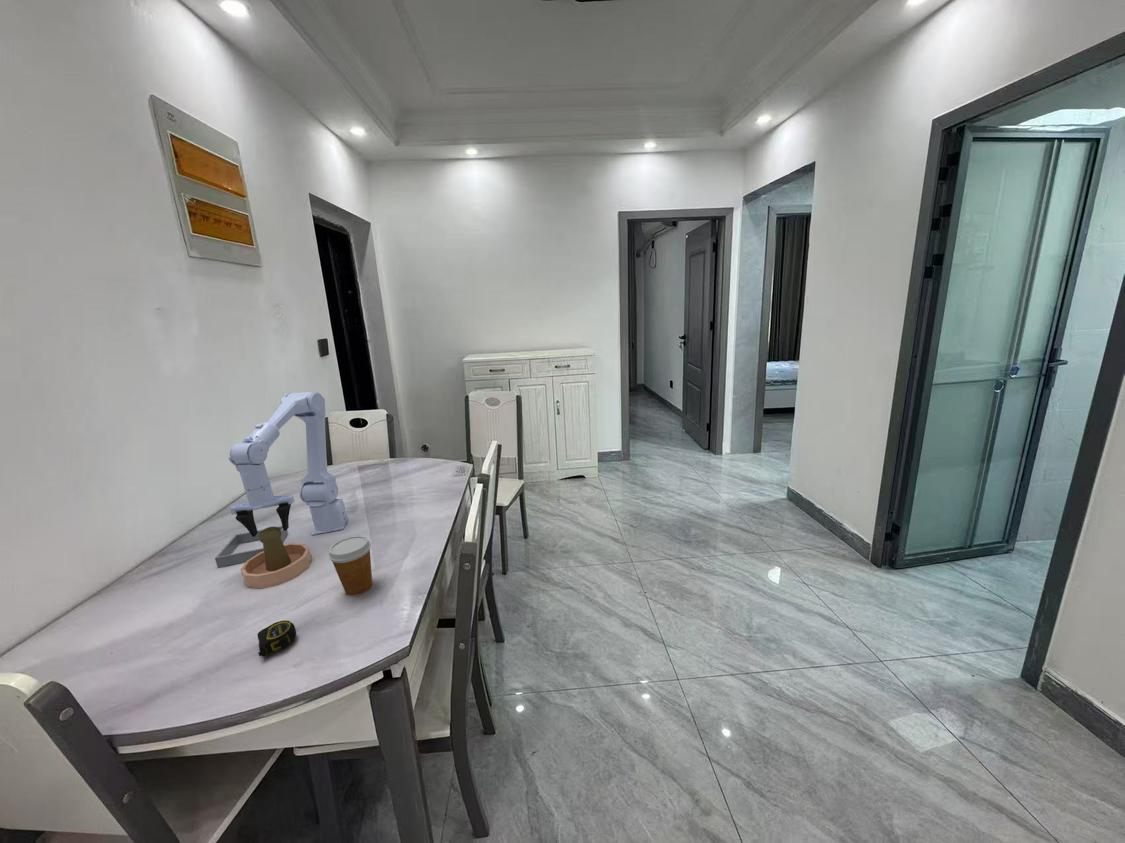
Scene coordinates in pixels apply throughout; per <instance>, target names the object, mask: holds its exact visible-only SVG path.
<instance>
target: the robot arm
mask: <svg viewBox="0 0 1125 843" xmlns="http://www.w3.org/2000/svg"><path fill="white" fill-rule="evenodd" d="M293 417H296V418H298V419H299V420H302V422H304V424H305V436H306V437H305V438H306V439H305V440H306V460H307V462H306V463H307V464H306V465H307V474H305V475H304V476H303V477H302V478H301V479H300V488H299V498H300V500H301V501H302V502H303V503H305V504H306V506H308V507H309V511H310V515H311V518H312V523H313V530H312V532H311V536H315V535H320V534H326V533H330V532H336V531H340V530H344V529H345V527H346V524H347V522H348V519H349V518H348V516H347V512H346V507H345V504H344V500H343V498H337V497H338V495H339V487H338V484H337V480H336V479H337V478H336V477H335V476H334V475H332V473H329V471H328V467H327V466H328V464H327V463H328V462H327V461H328V460H327V441H326V440H327V439H326V436H327V435H326V398H324V396H323V395H322V394H321V393H320V392H319V391H317V390H315V391H306V392H287V393H286V394H285V395H284V396H283V397H282V398H281V399H280V405H279V406H278V408H277V409H276V410H275V411H274V413H273V414H272V415H271V417H270V418H269V419H268V420H267V422H260V423H257V424H256V425H255V426H254V429H253V430H252V431H251V432H250V433H249V434H248V435H247V436H246V437H245V438H244V440H242V442H239V443H236V444H234V445H233V446H232V447H231V448H230V451H229V457H228V460H229V462H230V463H231V464H232V465H233V466H234V467H235V469H236V471H237V472H239V476H240V478H241V483H242V486H243V488H244V489H243V490H244V492H245V495H246V498H247V501H245V502H240V503H237V504H233V505H231V507H230V508H229V510H230V513H231V515H232V516H233V515H236V516H235V520H236V521H238V522H239V523H240V524H241V525H242V526H244V528H246V529H247V531H248V532H250V534H251V535H252V537H255V536H256V535H257V533H258V528H257V524H256V522H255V518H254V511H257V510H262V509H266V508H271V507H277V508H276V509H275V512H276V513H277V515H278V516H279V519H280V522H281V526H282V527H283V530H284V531H286V530H287V531H288V529H289V528H290V526H289V524H290V523H289V519H290V518H289V517H290V512H291V506H292V504H294V502H295V498H294V497H295V496H294V494H290V495H289V494H287V495H274V492H273V489H272V486H271V482H270V478H269V475H268V471H267V467H266V464H265V461H266V460H267V458H268V452H269V451H270V448H271V446H272V445H273V444H274V443H275V442H276V441H277V439H279V437H280V435H281V434H280V429H281V428H282V427H283V426H285V424H287V423H288V421H289V422H290V420H291V418H293Z"/></svg>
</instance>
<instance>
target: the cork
mask: <svg viewBox="0 0 1125 843" xmlns="http://www.w3.org/2000/svg"><path fill="white" fill-rule="evenodd" d="M278 527H279V526H270V527H266V528H264V529H261V530H262V531H261V532H260V533H259V540H258V541H259V542H260V543H262V546H263V547H262V548H264V556H265V564H266V570H267V571H277V570H279V569H281V568H284V567H286V566H288V565H289V564H290V563H291V559H290V557H289V555H288V553H287V551H286V549H285V547H284V545H285V544H284V541H283V542H282V540H281V538H280V537H281V530H280V528H278Z"/></svg>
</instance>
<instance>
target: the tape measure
mask: <svg viewBox="0 0 1125 843" xmlns="http://www.w3.org/2000/svg"><path fill="white" fill-rule="evenodd" d="M296 636H297V630H296V627H295V624H294V623H293V622H292V621H290V620H286V619H285V620H284V619H283V620H280V621H276V622H274V623H272V624H270V625H269V626H267V627H265V628H263V629H261V630H260V631H259V632H258V633H257V639H258V647H259V651H258V652H257V654H258V656H259V657H262V658H266V657H268V656H271V654H273V653H276V652H279V651H282V650H284V649H286V648H287V647H288V646H290V645H291V644H292V643H293V642H294V641H295V639H296Z"/></svg>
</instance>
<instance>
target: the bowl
mask: <svg viewBox="0 0 1125 843" xmlns="http://www.w3.org/2000/svg"><path fill="white" fill-rule="evenodd" d="M284 547H285V549H286V551H287V553H288V555H289V557H290V559H291V563H290V564H289V565H288V566H286V567H284V568H281V569H279V570H277V571H267V570H266V564H265V556H264V551H263V552H260V553H259V554H257V555H255V556H254V557H252V558H251V559H249V560H248V561H246V562H244V564H243V565H242V566H241V568H240V573H241V576H242V579H243V581H244V583H245V585H246V586H247V588H253V589H255V588H256V589H264V588H268V587H272V586H278V585H280V584H284V583H285V582H287V581H289V580H292V579H294V578H296V577H298V576H299V575H300V574H302V573H303V572H304V571H306V570H307V569H308V568H309V567H310V565H311V563H312V560H313V558H312V555H311V550H310V548H309V547H308V546H307V545H306V544H305V543H296V542H291V543H286V544H284Z"/></svg>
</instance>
